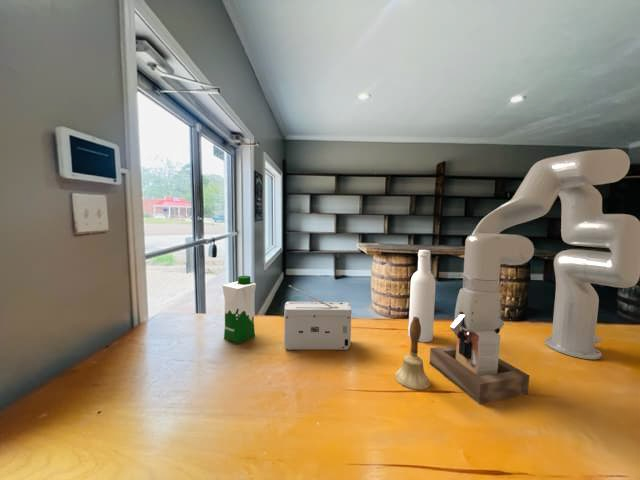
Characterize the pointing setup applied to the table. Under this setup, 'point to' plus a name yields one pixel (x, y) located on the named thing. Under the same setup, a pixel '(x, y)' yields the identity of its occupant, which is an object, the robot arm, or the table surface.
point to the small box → (482, 353)
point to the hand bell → (413, 363)
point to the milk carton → (239, 309)
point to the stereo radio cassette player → (317, 325)
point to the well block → (480, 377)
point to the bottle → (423, 297)
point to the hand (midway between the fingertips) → (475, 354)
